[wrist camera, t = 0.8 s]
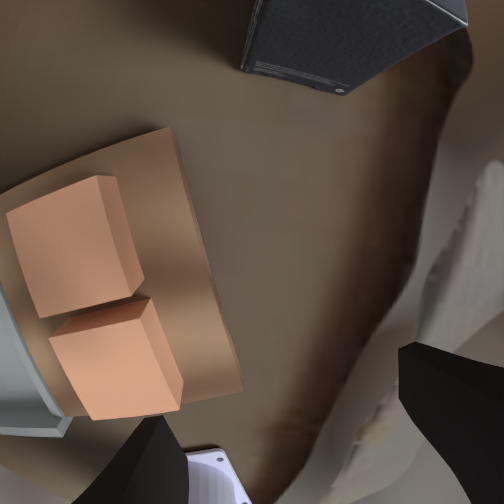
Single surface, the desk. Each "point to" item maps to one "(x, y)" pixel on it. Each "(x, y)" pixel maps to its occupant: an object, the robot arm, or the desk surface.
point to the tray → (24, 386)
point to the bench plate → (151, 261)
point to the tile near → (76, 247)
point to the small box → (342, 38)
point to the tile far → (119, 361)
